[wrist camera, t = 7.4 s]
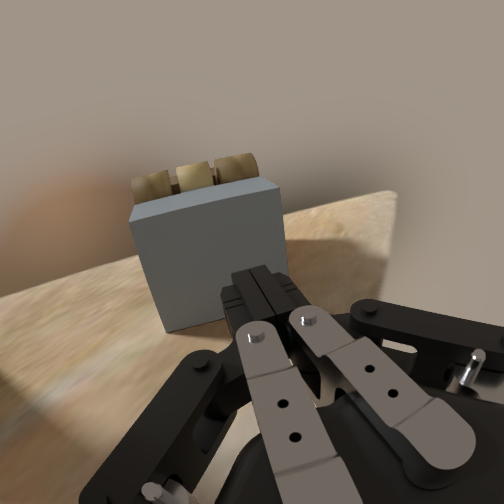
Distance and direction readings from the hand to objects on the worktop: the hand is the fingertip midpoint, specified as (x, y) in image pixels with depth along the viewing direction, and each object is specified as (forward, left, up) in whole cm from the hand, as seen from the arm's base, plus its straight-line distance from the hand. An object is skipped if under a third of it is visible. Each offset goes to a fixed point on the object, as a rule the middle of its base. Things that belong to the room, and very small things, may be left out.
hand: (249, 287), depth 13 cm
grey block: (-1, +12, -7) cm, 13 cm away
